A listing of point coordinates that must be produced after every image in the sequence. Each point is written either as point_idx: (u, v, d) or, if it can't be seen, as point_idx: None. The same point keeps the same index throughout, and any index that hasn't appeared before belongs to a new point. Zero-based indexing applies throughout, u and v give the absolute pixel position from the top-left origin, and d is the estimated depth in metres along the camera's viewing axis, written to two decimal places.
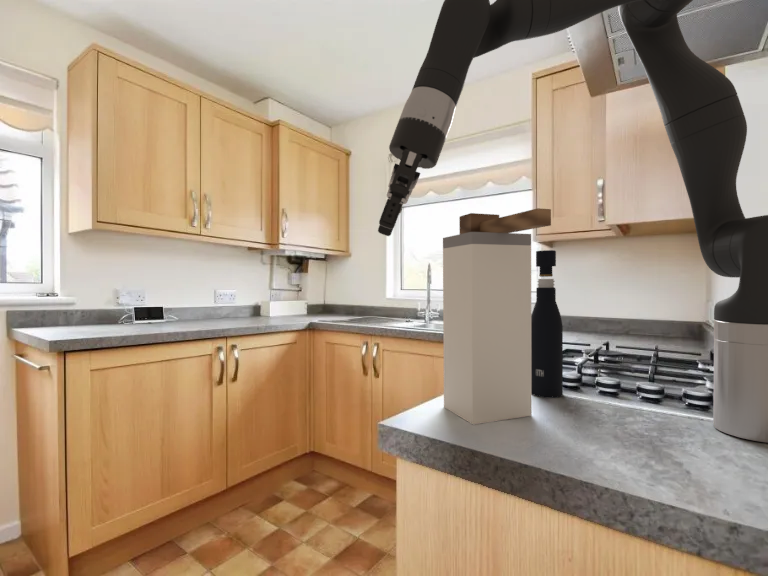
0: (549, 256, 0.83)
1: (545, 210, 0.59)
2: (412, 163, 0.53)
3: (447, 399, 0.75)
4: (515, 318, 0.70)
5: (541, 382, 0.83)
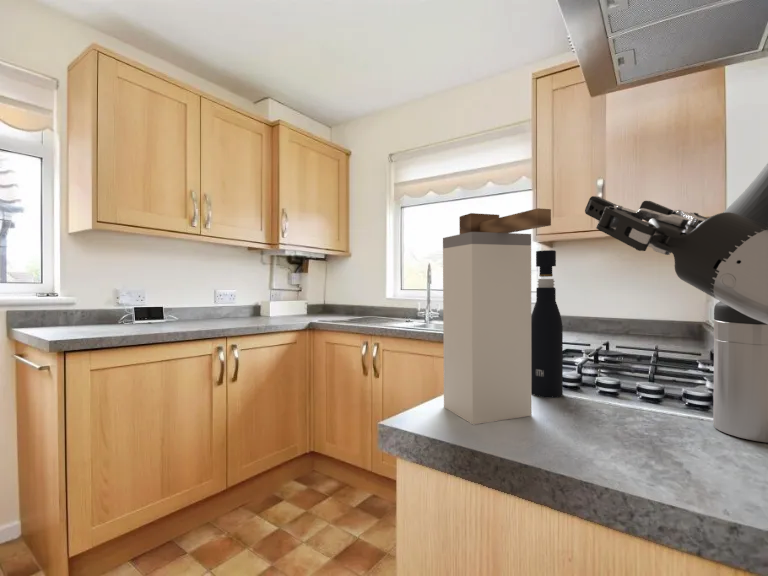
0: (549, 256, 0.83)
1: (545, 210, 0.59)
2: None
3: (447, 399, 0.75)
4: (515, 318, 0.70)
5: (541, 382, 0.83)
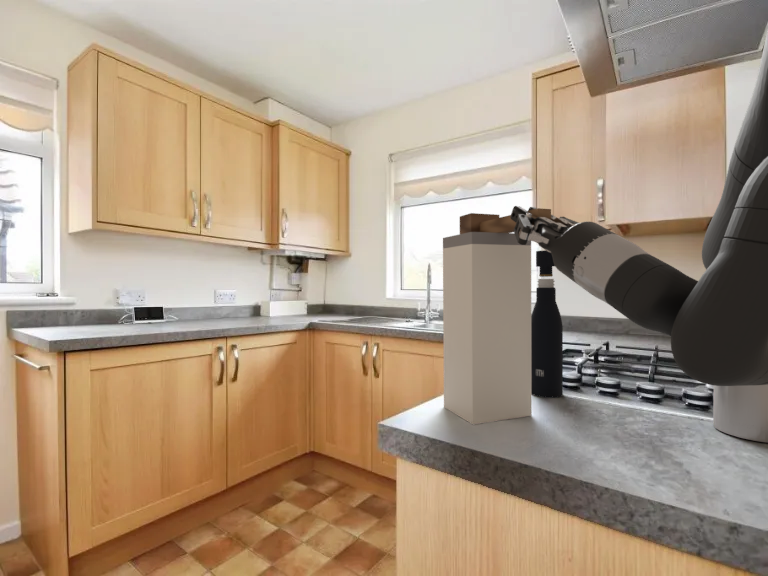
0: (549, 256, 0.83)
1: (545, 210, 0.59)
2: None
3: (447, 399, 0.75)
4: (515, 318, 0.70)
5: (541, 382, 0.83)
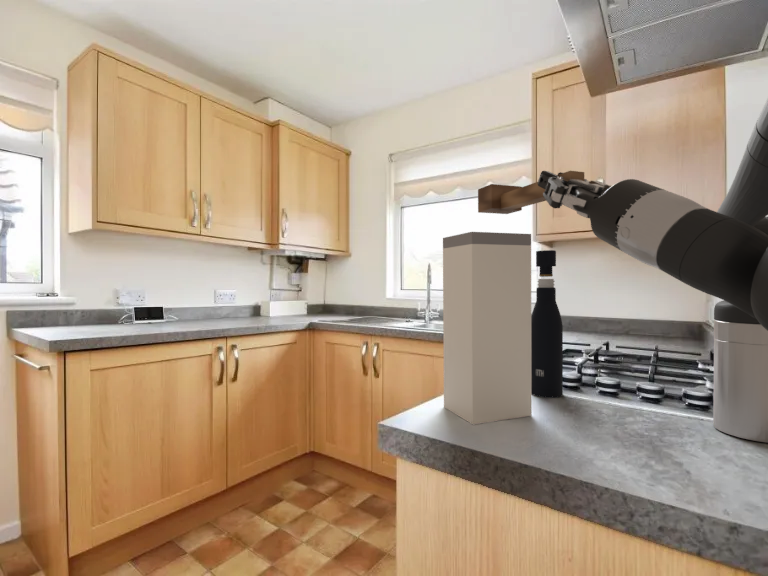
0: (549, 256, 0.83)
1: (578, 173, 0.53)
2: None
3: (447, 399, 0.75)
4: (515, 318, 0.70)
5: (541, 382, 0.83)
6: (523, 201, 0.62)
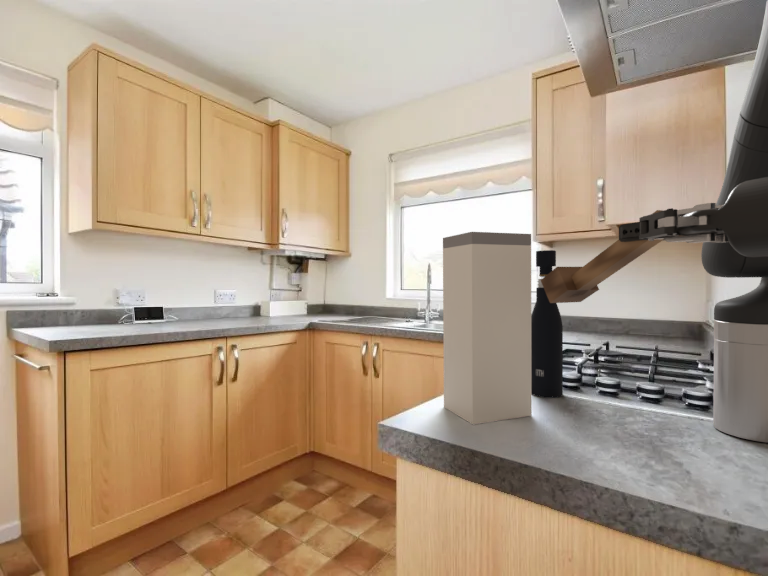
0: (549, 256, 0.83)
1: None
2: None
3: (447, 399, 0.75)
4: (515, 318, 0.70)
5: (541, 382, 0.83)
6: (606, 268, 0.54)
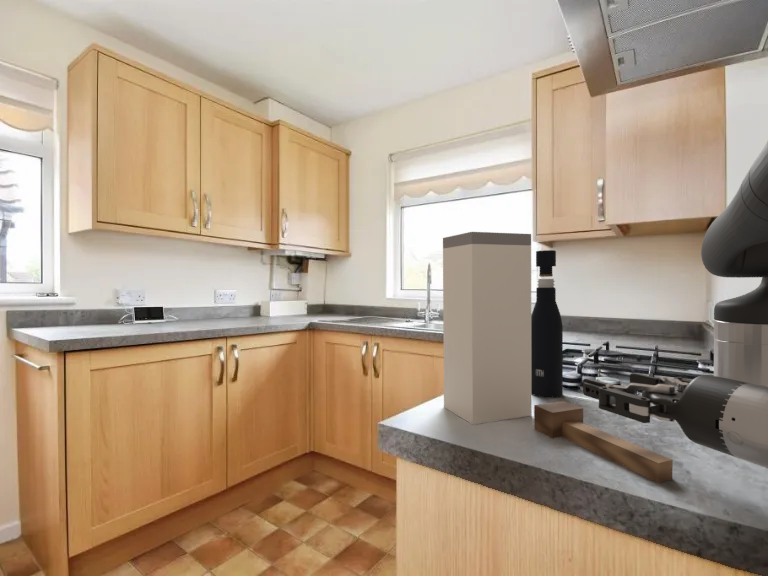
0: (549, 256, 0.83)
1: (666, 463, 0.48)
2: None
3: (447, 399, 0.75)
4: (515, 318, 0.70)
5: (541, 382, 0.83)
6: (592, 450, 0.56)
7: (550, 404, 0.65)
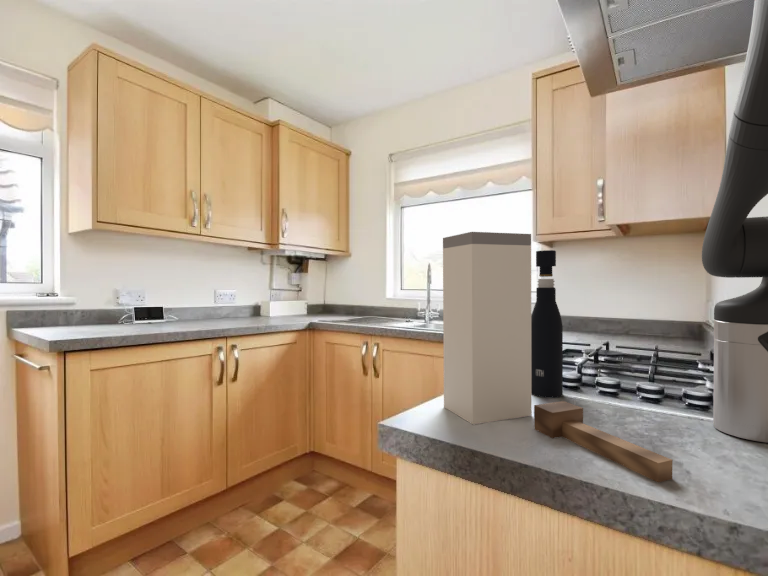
0: (549, 256, 0.83)
1: (666, 463, 0.48)
2: None
3: (447, 399, 0.75)
4: (515, 318, 0.70)
5: (541, 382, 0.83)
6: (592, 450, 0.56)
7: (550, 404, 0.65)
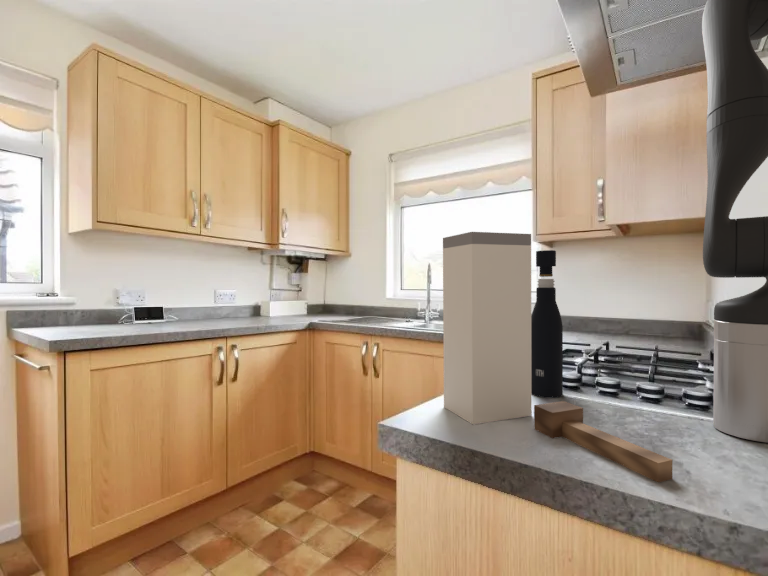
0: (549, 256, 0.83)
1: (666, 463, 0.48)
2: None
3: (447, 399, 0.75)
4: (515, 318, 0.70)
5: (541, 382, 0.83)
6: (592, 450, 0.56)
7: (550, 404, 0.65)
